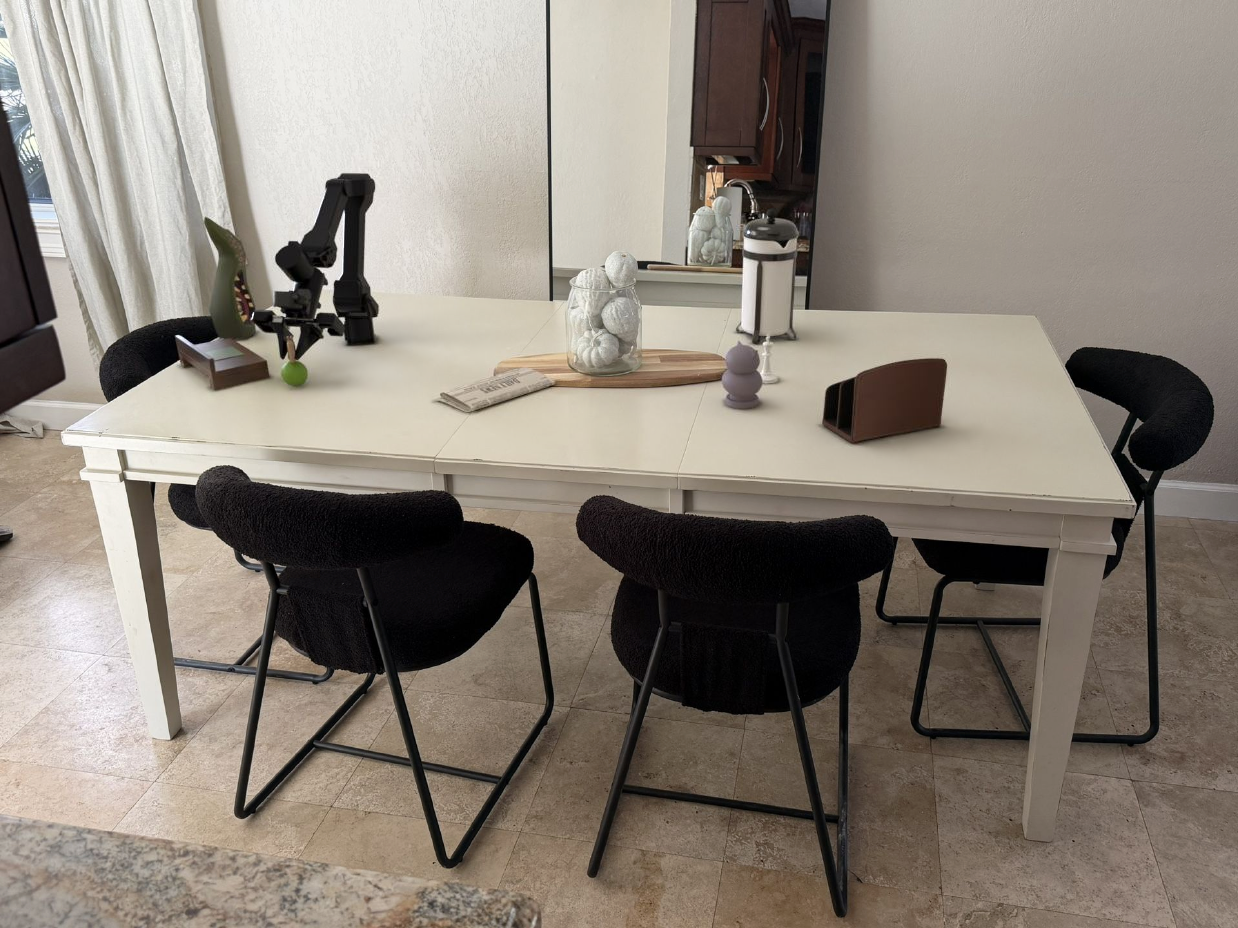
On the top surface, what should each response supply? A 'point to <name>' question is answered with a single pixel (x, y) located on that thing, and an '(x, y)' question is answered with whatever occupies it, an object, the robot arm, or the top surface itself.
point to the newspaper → (496, 389)
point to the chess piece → (767, 364)
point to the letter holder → (887, 400)
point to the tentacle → (230, 286)
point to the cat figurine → (742, 377)
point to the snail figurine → (293, 367)
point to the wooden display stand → (223, 362)
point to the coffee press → (768, 277)
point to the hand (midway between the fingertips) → (288, 359)
